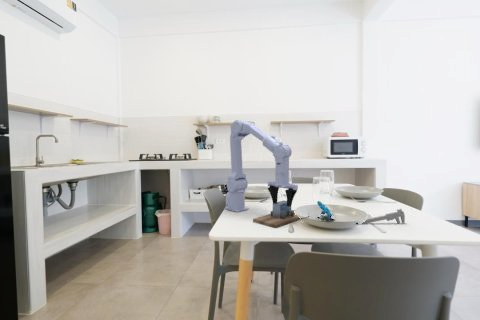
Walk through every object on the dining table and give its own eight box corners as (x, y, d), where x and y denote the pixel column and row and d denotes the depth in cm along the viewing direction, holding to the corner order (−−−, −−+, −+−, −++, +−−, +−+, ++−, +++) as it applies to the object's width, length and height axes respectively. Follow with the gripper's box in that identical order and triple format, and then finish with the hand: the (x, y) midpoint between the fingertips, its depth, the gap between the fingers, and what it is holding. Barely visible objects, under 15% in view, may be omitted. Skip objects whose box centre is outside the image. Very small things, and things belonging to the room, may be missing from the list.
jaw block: (272, 217, 112) (272, 203, 112) (283, 213, 118) (283, 200, 118) (280, 218, 109) (280, 204, 109) (291, 215, 115) (291, 201, 115)
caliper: (402, 223, 107) (403, 208, 106) (404, 224, 106) (405, 209, 105) (353, 224, 106) (353, 209, 106) (354, 225, 105) (354, 209, 105)
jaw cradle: (253, 221, 110) (253, 214, 110) (287, 211, 126) (287, 204, 126) (275, 228, 101) (275, 220, 101) (309, 216, 118) (309, 209, 118)
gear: (335, 219, 107) (317, 200, 110) (324, 228, 108) (307, 209, 112) (337, 216, 117) (321, 199, 120) (327, 224, 118) (312, 207, 122)
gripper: (263, 172, 115) (263, 203, 116) (290, 175, 105) (290, 208, 105) (273, 171, 120) (273, 200, 121) (300, 174, 110) (300, 206, 110)
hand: (282, 204), depth 113 cm, fingers open, 7 cm apart
